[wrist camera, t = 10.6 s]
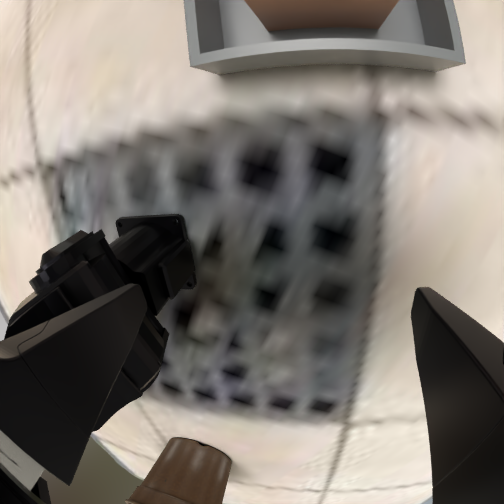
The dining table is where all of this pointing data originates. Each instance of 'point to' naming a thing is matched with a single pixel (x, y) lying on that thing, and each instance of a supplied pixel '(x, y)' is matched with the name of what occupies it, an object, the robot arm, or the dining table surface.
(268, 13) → the small crate
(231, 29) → the big crate
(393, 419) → the dining table surface
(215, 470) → the plant pot
